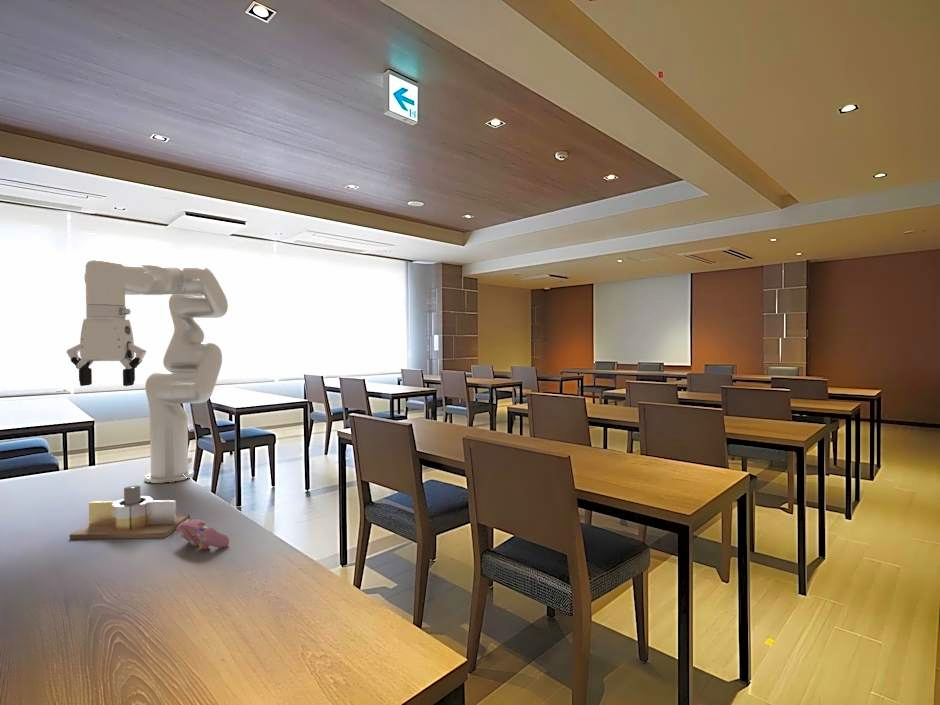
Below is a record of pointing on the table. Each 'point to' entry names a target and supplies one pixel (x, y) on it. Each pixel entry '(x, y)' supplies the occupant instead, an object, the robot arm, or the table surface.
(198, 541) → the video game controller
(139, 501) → the hinge pin
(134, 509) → the hinge
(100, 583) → the table surface
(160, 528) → the mounting board
